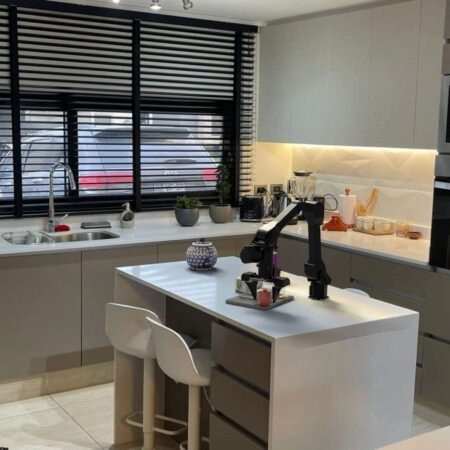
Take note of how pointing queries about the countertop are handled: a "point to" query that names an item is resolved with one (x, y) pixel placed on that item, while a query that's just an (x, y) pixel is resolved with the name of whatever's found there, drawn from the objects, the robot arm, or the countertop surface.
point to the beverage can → (275, 261)
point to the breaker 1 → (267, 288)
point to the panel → (257, 301)
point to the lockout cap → (264, 297)
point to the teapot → (201, 255)
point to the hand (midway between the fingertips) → (264, 301)
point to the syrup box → (244, 285)
